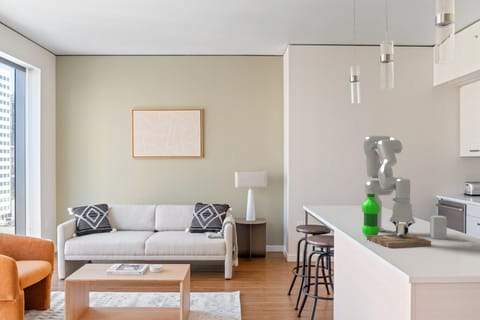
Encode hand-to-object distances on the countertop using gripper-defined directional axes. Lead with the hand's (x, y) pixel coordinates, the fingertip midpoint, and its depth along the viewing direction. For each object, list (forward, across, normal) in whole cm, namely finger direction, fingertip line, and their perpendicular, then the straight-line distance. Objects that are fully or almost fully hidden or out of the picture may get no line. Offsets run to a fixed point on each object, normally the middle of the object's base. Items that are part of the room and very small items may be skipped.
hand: (402, 233), depth 227 cm
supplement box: (+5, +17, +23) cm, 29 cm away
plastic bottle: (+5, -18, +6) cm, 20 cm away
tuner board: (+4, -2, -4) cm, 6 cm away
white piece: (+2, 0, -3) cm, 3 cm away
